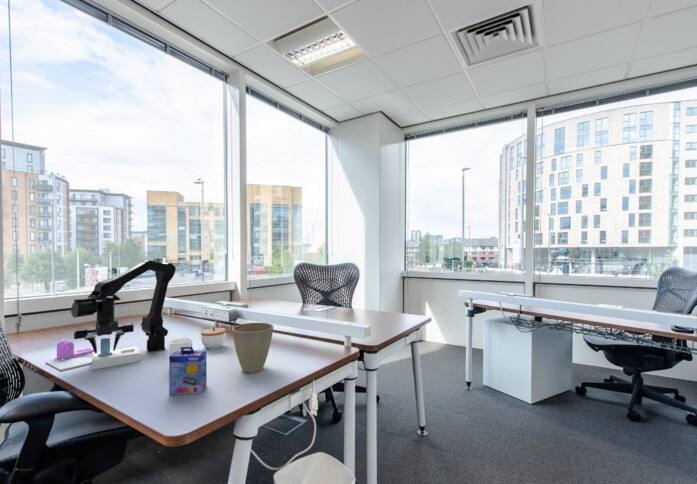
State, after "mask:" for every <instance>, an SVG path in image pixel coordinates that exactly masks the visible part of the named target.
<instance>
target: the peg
mask: <svg viewBox="0 0 697 484" xmlns="http://www.w3.org/2000/svg"><path fill="white" fill-rule="evenodd" d="M110 350H111V337H109V336H108V337H102V338H100V352H101V357H103V356H109V355H110Z"/></svg>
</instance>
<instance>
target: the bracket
mask: <svg viewBox="0 0 697 484" xmlns="http://www.w3.org/2000/svg"><path fill="white" fill-rule="evenodd" d="M92 352H94V353H95V351H94V349H93V347H92V346H91V347H86V348H81V349H76V350H75V345H74V343H73V342H72V341H67V340H64V339H63V340H61V341H58V343H57V344H56V359H58V358H59V360H61V359H65V358H69V359H71V358H70V357H74V358H76V357H75V356H78V357H80V356H79V355H82V356H84V355H83V354H86V355H88V354H87V353H90V354H93V353H92ZM65 360H66V359H65Z"/></svg>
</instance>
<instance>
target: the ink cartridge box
mask: <svg viewBox="0 0 697 484" xmlns="http://www.w3.org/2000/svg"><path fill="white" fill-rule="evenodd" d="M183 349H191V350H183ZM168 357H169V358H168V363H169V364H168V368H169V369H168V370H169V371H168V372H169V373H168V375H169V376H168V382H169V383H168V395H199V394H202V393H203V391H204V390H206V388H207V386H208V385H207V382H208V381H207V377H208V376H207V374H208V373H207V370H208V369H207V349H205V350H204V349H203V350H202V349H201V350H199V349H198V350H194V348H193V346H192V347H181V351H176V352H174V353H173V354H172V355H170V354H169V356H168Z"/></svg>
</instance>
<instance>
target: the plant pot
mask: <svg viewBox="0 0 697 484" xmlns="http://www.w3.org/2000/svg"><path fill="white" fill-rule="evenodd" d="M273 331H274V324H272V323H267V322H248V323H247V322H245V323H241V324H238V325H235V326H233V327H232V337H233V343H234V348H235V352H236V355H237V359H238V362H239V365H240V367H241V370H242V372H243V371H244V372H243V373H245V372H249V373H248V374H253V373H252V372H255V373H258V372H257V371H259V372H261V371H263V370H264V367H265V364H266V361H267V358H268V354H269V351H270V348H271V344H272V343H271V342H272V339H273ZM260 370H261V371H260Z"/></svg>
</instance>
